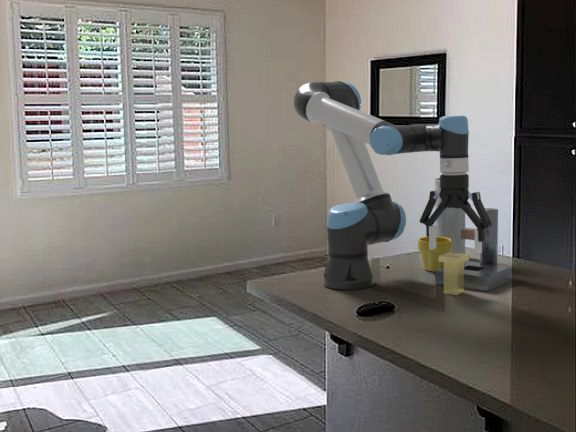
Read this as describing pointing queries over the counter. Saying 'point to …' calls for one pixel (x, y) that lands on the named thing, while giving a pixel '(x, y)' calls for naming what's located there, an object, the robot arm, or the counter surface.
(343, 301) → the counter surface
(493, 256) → the gray post stand
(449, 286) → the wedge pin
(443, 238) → the plant pot
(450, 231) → the vase
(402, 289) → the counter surface
